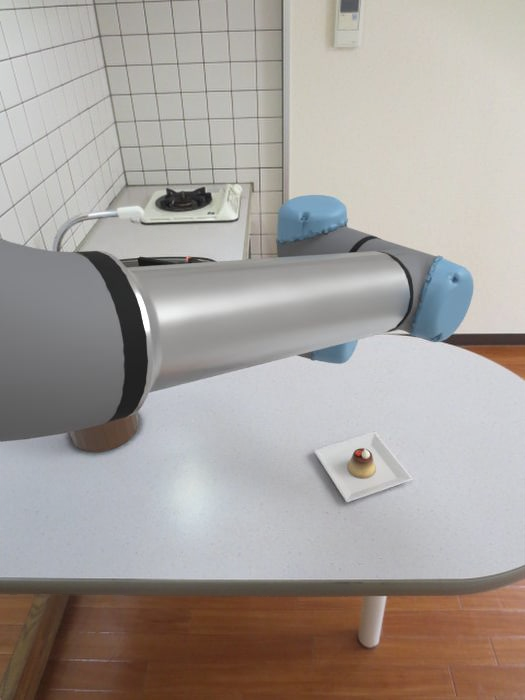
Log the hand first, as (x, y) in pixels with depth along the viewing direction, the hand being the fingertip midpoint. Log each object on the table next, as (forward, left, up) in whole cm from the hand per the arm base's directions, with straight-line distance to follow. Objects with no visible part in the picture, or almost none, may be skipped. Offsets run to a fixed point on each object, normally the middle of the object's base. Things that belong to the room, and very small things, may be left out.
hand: (111, 284), depth 76 cm
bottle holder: (-3, +9, -32) cm, 33 cm away
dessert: (+19, -33, -32) cm, 50 cm away
